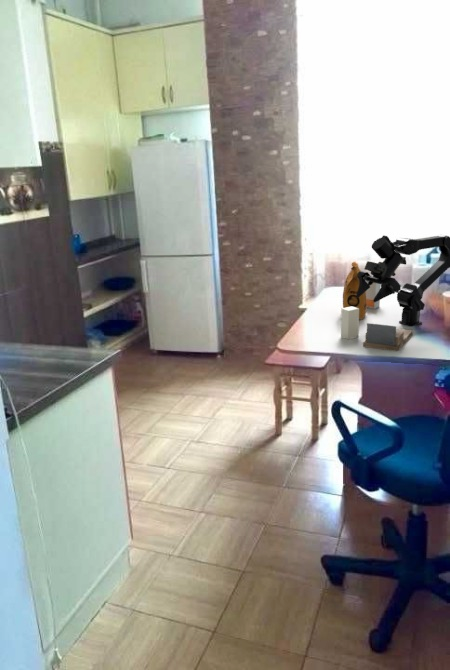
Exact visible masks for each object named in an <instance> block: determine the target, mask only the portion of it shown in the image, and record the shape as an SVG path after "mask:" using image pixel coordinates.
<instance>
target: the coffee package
mask: <svg viewBox="0 0 450 670" xmlns="http://www.w3.org/2000/svg"><path fill="white" fill-rule="evenodd" d="M359 271H362V270H361V269H360V267H359V264H358V263H357V262H356V261H353V262H351V268H350V271H349V273H348V275H346V277H345V280H344V286H343V292H342V308H346V307H351V306H353V307H356V308H359V320H363V319H364V318H365V316H366V314H367V307H366V291H365V292H364V293H363V294H362V295H361V296H360V297H356V295H357V291H358V288H359V279H358V277H357V276H356V275H357V274H358V272H359Z"/></svg>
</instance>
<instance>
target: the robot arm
mask: <svg viewBox="0 0 450 670" xmlns="http://www.w3.org/2000/svg"><path fill="white" fill-rule="evenodd" d="M433 248H438V251H440V254H439V257H438V258H439V259H438V260H436V262H435V263H434V264H433V265H432V266H431V267H429V269H427V270H426V272H425V273H423V274H422V275H421V276H420V277H419V278H418V279H417V280H416V281H415V282H414V283H407V282H406V283H405V284H404V285H403V286H402V285H401V284H400V282H399V281H398V280H397V278H394V277H395V276H396V275H397V274H396V273H395V272H396V271H397V269H398V268H399V266H400V265H407V259H406V258H407V257H405V256H402V255H406V256H411V255H413V254H416V253H418V252H419V251H421V250H426V249H433ZM371 249H372V250H373V251H374V252H375V253H376V255H378V257H379V258H380V259H382V260H383V261H379V262H378V263H377V262H375V261H368V260H367V261H366V263H365V266H364V270H361V271H359V272H358V274H357V275H356V276H357V277H358V279H359V288H358V291H357V295H356V297H360V296H361V295H362V294H363V293H364V292H365V291H367V290H368V289H369V288H370V285H372V284H373V282H374V283H378V284H380V290H379V292H378V293H377V295H376V296H375V298H374V300H373V302H377V301H379V300H380V301H381V300H382V299H384V298H386V297H388V296H391V295H394V294H396V295H397V296H396V300H397V302H398V305H399V307H401V308H402V312H401V320H399V321H398V323H400V324H403V325H405V326H409V327H412V326H417V325H421V324H423V321H420V315H421V312H422V310H424V308H425V307H426V304H425V303H424V302H423V301H422V299H423V295H424V293H425V291H426V290H427V289H428V288H430V286H432V284H434V282H435V281H437V280H438V279H439V278H440V277H441V276H442V275H443V274H444V273H445V272H446V271H447V270H448V269H450V236H449V235H444V234H439V235H435V236H427V237H421V238H406V237H405V238H404V237H399V238H397V239H396V240H395V241H392V240H390V238H389V237H388V235H384V234H383V235H382V237H379V238H377V239H375V240H374V241H373V242H372V244H371ZM366 270H367V271H366ZM368 271H369V272H368Z"/></svg>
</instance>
